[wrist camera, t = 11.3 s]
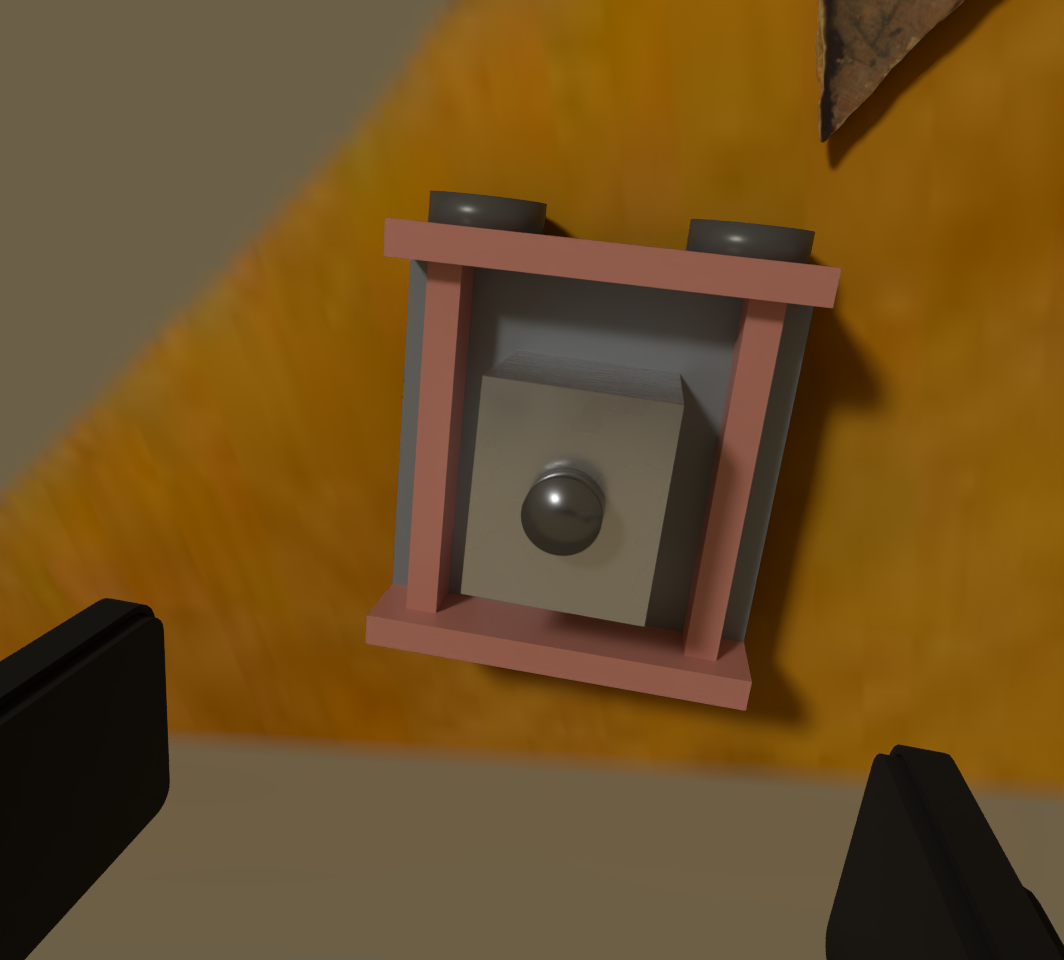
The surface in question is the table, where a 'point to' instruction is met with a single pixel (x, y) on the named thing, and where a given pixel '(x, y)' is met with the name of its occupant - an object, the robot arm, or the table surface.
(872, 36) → the shard
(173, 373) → the table surface
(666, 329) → the chassis
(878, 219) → the table surface
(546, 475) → the cube with metal knob
